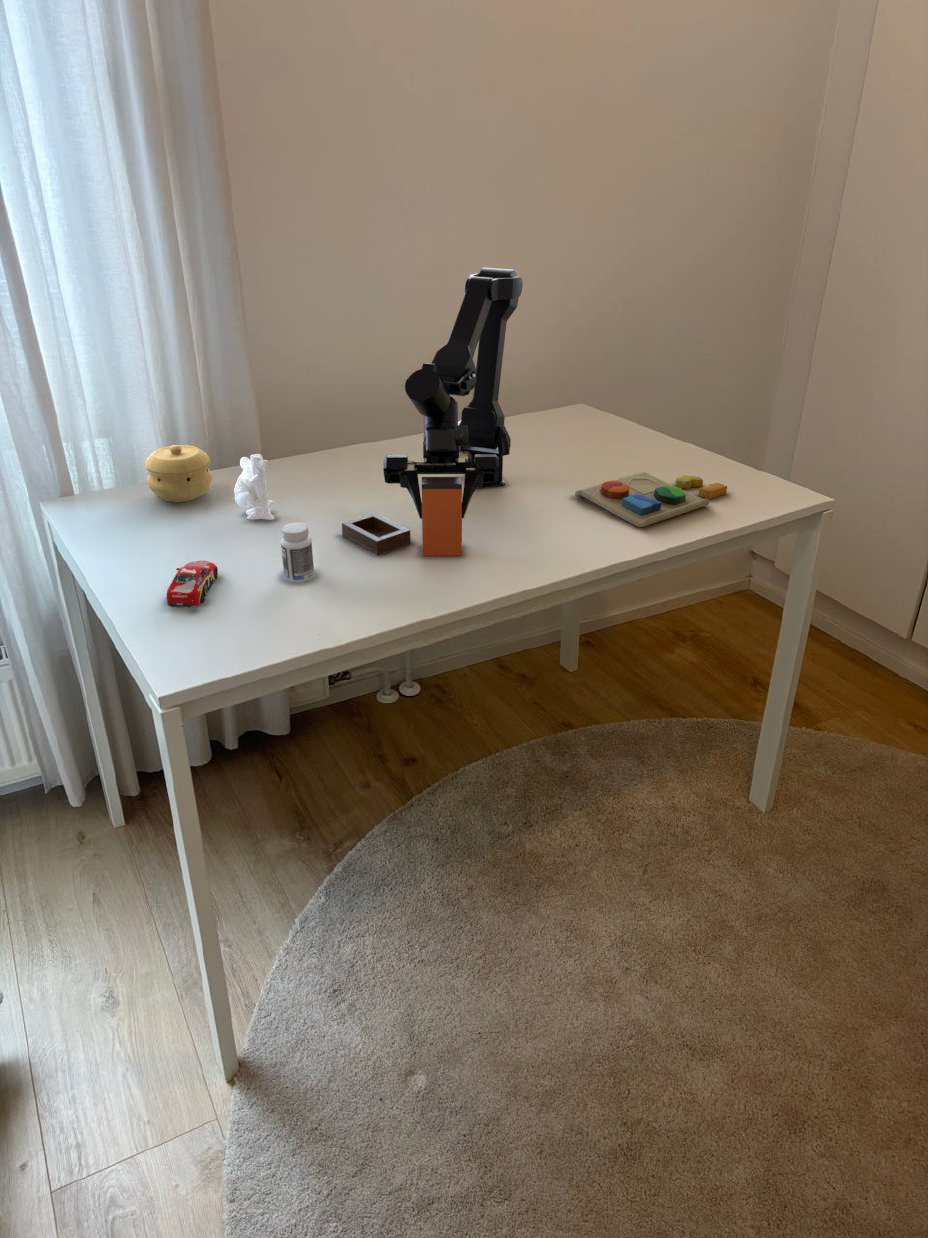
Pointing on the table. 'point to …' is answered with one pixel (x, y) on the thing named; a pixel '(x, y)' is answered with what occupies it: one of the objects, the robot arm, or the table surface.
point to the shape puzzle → (650, 497)
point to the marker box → (442, 516)
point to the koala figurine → (253, 488)
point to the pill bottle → (297, 553)
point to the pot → (178, 473)
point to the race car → (191, 584)
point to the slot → (376, 533)
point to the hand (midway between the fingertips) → (441, 517)
